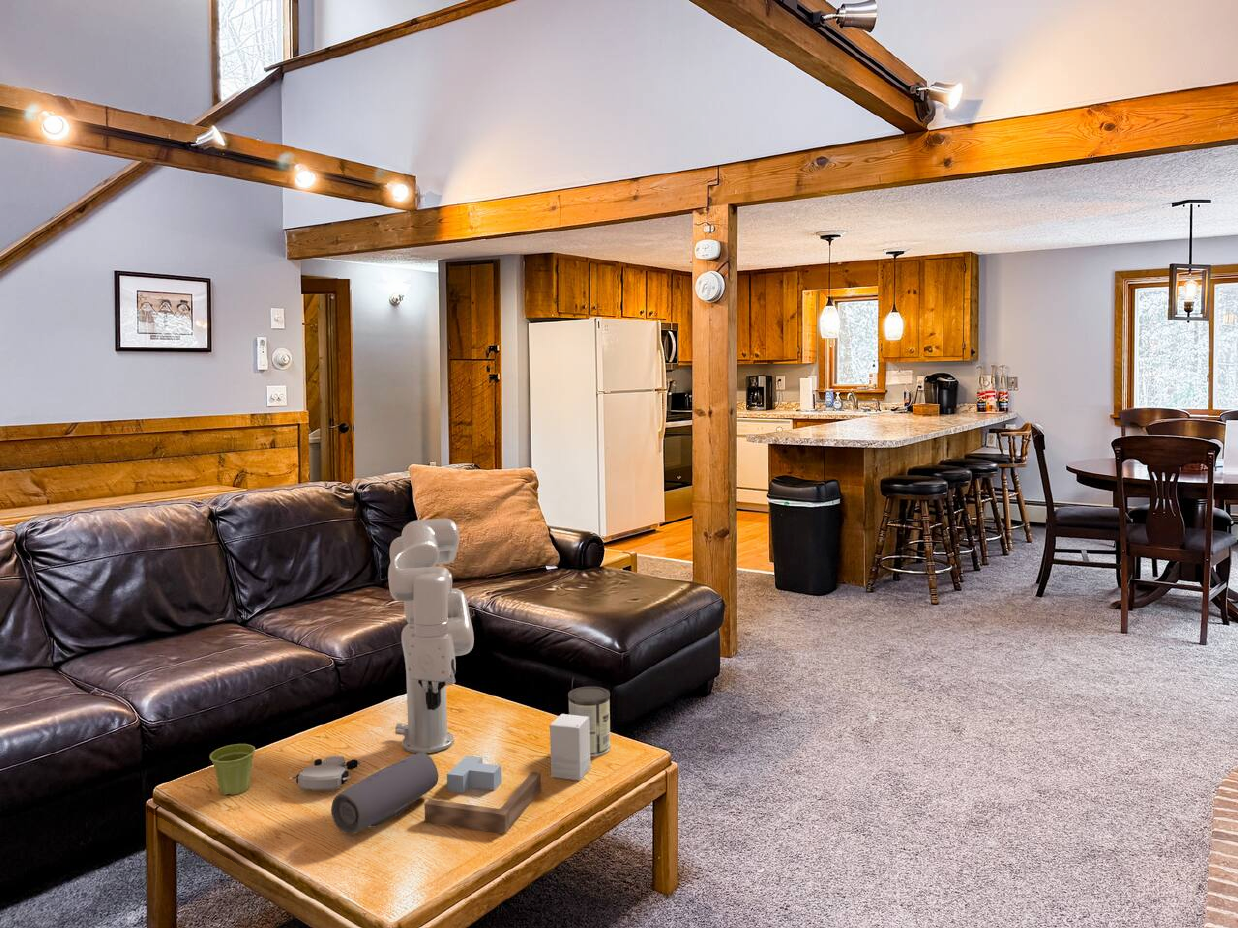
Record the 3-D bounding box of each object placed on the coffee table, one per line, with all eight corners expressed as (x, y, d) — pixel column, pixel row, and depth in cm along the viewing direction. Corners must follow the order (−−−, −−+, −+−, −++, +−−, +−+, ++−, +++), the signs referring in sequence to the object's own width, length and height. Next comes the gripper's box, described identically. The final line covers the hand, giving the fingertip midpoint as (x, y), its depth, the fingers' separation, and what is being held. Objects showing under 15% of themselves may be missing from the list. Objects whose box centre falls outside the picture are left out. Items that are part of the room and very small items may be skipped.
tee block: (447, 791, 201) (446, 773, 201) (467, 772, 211) (466, 755, 210) (488, 796, 198) (488, 778, 198) (506, 776, 208) (506, 759, 207)
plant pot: (223, 803, 196) (221, 765, 195) (204, 790, 202) (202, 752, 201) (264, 788, 203) (262, 751, 202) (245, 776, 209) (243, 740, 208)
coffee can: (572, 739, 229) (571, 685, 227) (612, 740, 228) (612, 686, 226) (565, 756, 219) (564, 700, 217) (608, 758, 218) (607, 701, 216)
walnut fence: (424, 821, 187) (424, 803, 187) (467, 780, 206) (467, 763, 206) (505, 833, 182) (504, 814, 182) (541, 789, 201) (540, 772, 201)
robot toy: (313, 771, 214) (288, 796, 199) (313, 752, 214) (288, 775, 199) (365, 772, 213) (343, 797, 198) (365, 753, 213) (343, 776, 198)
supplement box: (591, 768, 212) (590, 716, 211) (579, 781, 205) (579, 727, 204) (562, 764, 214) (561, 712, 213) (549, 777, 208) (549, 724, 206)
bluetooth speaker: (409, 789, 202) (408, 745, 201) (441, 798, 197) (439, 754, 196) (329, 833, 183) (327, 786, 182) (362, 845, 178) (360, 797, 177)
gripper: (393, 631, 202) (395, 710, 204) (453, 635, 198) (456, 716, 200) (410, 622, 209) (412, 699, 211) (468, 626, 205) (470, 705, 207)
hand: (433, 707), depth 206 cm, fingers closed
